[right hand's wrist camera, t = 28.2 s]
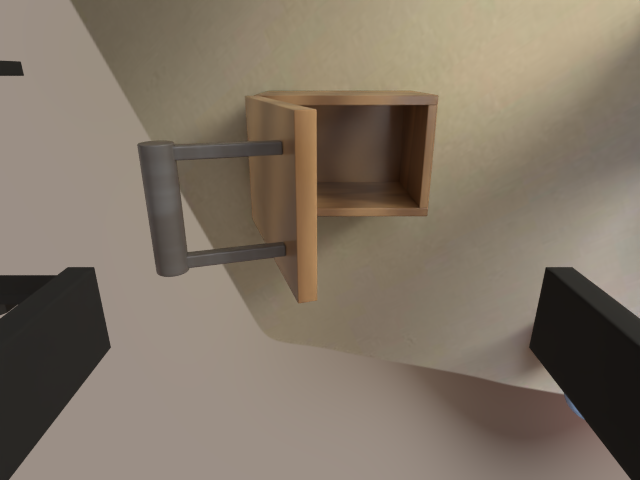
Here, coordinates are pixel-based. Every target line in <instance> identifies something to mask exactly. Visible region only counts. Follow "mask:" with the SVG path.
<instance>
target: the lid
mask: <svg viewBox="0 0 640 480" xmlns="http://www.w3.org/2000/svg"><path fill="white" fill-rule="evenodd" d="M245 104H246V121H247V137H248V141H244V142H221V143H198V144H175V145H174V142H172V141H148V142H142V143H139V144H138V152H139V158H140V165H141V172H142V178H143V185H144V191H145V198H146V205H147V211H148V218H149V225H150V231H151V238H152V244H153V251H154V257H155V264H156V271H157V274H158V275H160V276H164V277H173V276H178V275H181V274H184V273H186V272H187V271H188V270H189V268H192V267H201V266H209V265H217V264H225V263H233V262H242V261H250V260H258V259H266V258H274V260H275V261H276V263H277V265H278V267H279V269H280V271H281V272H282V274H283V276H284V278H285V280H286V282H287V284H288V285H289V287H290V289H291V291H292V293H293V295H294V296H295V298H296V300H297V302H298V303H304V302H310V301H316V300H317V111H316V109H312V108H308V107H304V106H299V105H295V104H291V103H287V102H283V101H278V100H274V99H270V98H266V97H262V96H245ZM232 157H249V170H250V187H251V204H252V219H253V221H254V223H255V225H256V226H257V228H258V230H259V232H260V234H261V236H262V237H263V239H264V241H265V243H266V244H257V245H248V246H239V247H231V248H222V249H213V250H204V251H195V252H187V245H186V236H185V228H184V220H183V212H182V203H181V195H180V187H179V178H178V170H177V162H176V160H195V159H213V158H232Z"/></svg>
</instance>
